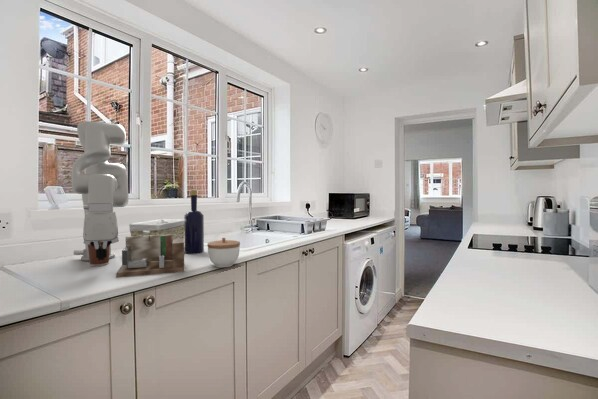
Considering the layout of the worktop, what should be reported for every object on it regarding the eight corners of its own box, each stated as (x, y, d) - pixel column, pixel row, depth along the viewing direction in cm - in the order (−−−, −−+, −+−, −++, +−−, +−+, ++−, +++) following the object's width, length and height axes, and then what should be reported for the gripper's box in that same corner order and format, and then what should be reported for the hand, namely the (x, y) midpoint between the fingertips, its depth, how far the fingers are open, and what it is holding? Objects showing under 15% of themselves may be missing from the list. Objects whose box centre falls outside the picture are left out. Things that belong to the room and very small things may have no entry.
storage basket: (158, 256, 145) (158, 223, 145) (127, 254, 149) (127, 223, 148) (186, 247, 169) (186, 219, 169) (159, 245, 172) (159, 218, 172)
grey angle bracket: (121, 270, 111) (120, 251, 110) (126, 263, 121) (126, 246, 121) (145, 269, 113) (145, 250, 113) (148, 262, 124) (148, 245, 124)
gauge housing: (116, 277, 109) (115, 242, 109) (123, 267, 123) (123, 236, 123) (184, 271, 117) (184, 239, 117) (183, 263, 131) (183, 234, 131)
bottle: (208, 251, 155) (207, 190, 154) (192, 254, 148) (192, 190, 147) (195, 249, 160) (195, 190, 159) (180, 252, 153) (179, 190, 152)
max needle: (159, 267, 115) (159, 241, 115) (159, 267, 116) (159, 240, 116) (164, 267, 115) (163, 241, 115) (164, 266, 117) (164, 240, 116)
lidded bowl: (232, 270, 120) (232, 240, 120) (201, 268, 123) (201, 239, 122) (244, 262, 132) (244, 236, 132) (216, 261, 135) (216, 235, 135)
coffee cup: (117, 261, 133) (117, 233, 132) (101, 267, 124) (101, 236, 123) (97, 261, 134) (96, 232, 133) (80, 266, 125) (79, 236, 124)
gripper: (72, 209, 108) (73, 263, 108) (122, 208, 113) (123, 260, 113) (79, 208, 115) (80, 259, 115) (126, 207, 120) (126, 256, 120)
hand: (101, 259), depth 114 cm, fingers closed
